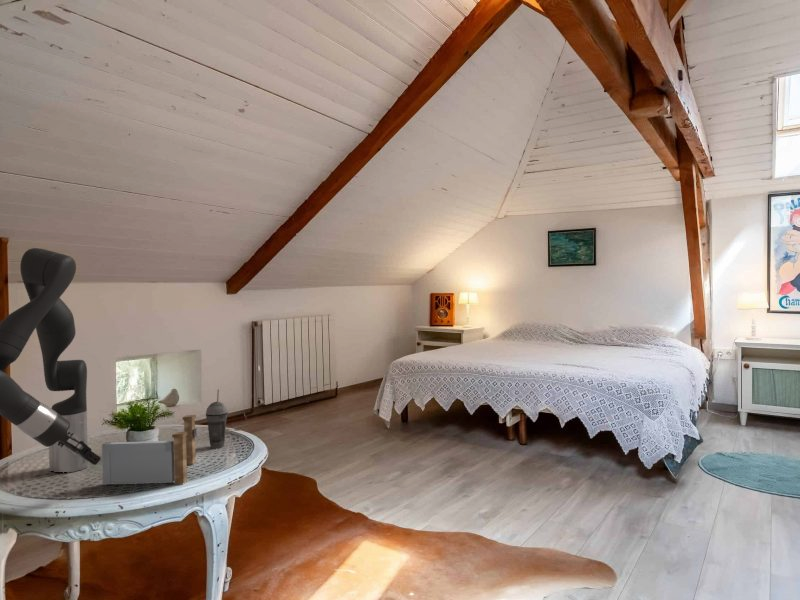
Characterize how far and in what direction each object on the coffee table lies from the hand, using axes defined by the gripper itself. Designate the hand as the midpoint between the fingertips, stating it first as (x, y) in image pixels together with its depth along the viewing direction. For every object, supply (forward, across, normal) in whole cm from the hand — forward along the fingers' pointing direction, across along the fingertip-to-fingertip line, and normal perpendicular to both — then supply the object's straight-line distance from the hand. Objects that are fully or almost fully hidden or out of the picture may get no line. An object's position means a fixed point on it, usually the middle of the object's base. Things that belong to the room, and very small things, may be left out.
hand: (97, 461), depth 142 cm
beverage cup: (+38, +16, -25) cm, 48 cm away
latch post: (+26, +5, -14) cm, 30 cm away
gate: (+13, -1, -2) cm, 13 cm away
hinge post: (+19, -10, -6) cm, 22 cm away
